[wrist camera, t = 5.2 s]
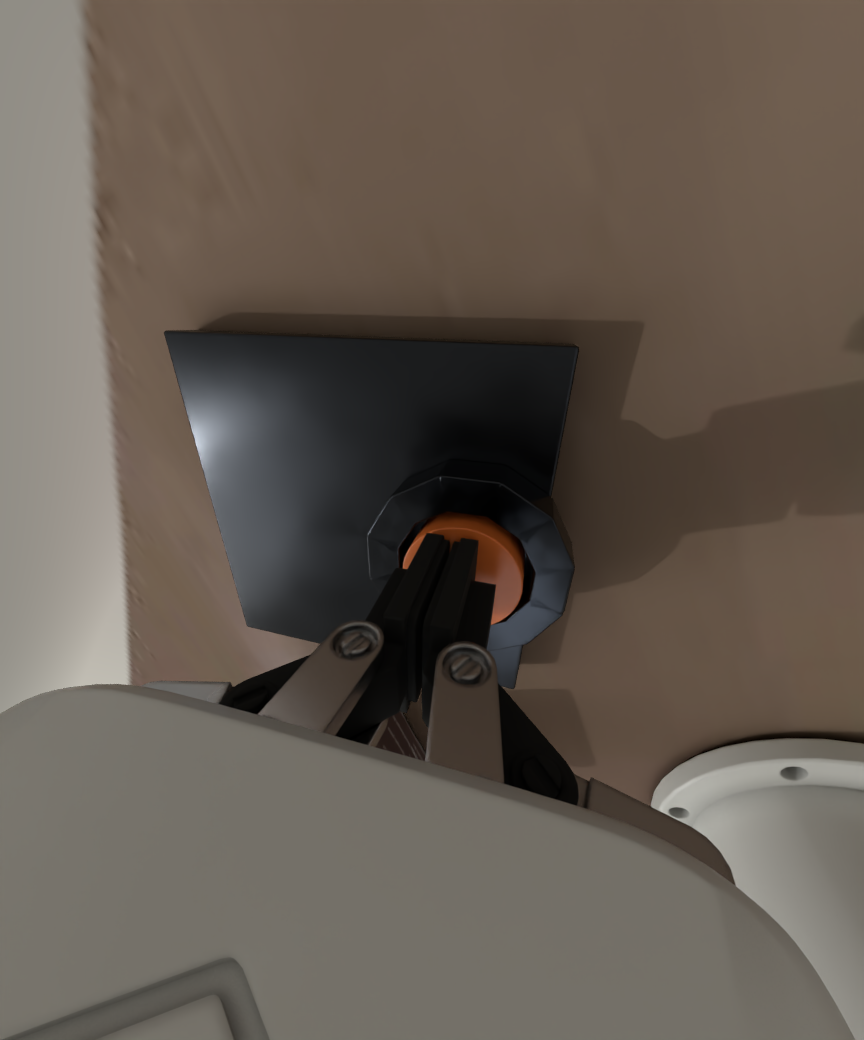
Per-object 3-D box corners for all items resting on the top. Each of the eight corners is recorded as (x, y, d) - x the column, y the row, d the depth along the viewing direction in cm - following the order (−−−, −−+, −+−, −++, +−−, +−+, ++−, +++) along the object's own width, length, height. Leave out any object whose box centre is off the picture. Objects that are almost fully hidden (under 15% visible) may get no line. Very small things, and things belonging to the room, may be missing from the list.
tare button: (533, 514, 12) (531, 538, 11) (517, 609, 14) (514, 639, 13) (415, 499, 13) (401, 519, 12) (415, 590, 15) (403, 615, 14)
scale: (609, 344, 11) (629, 351, 9) (536, 670, 18) (535, 729, 15) (194, 329, 14) (117, 331, 12) (263, 609, 21) (224, 649, 18)
